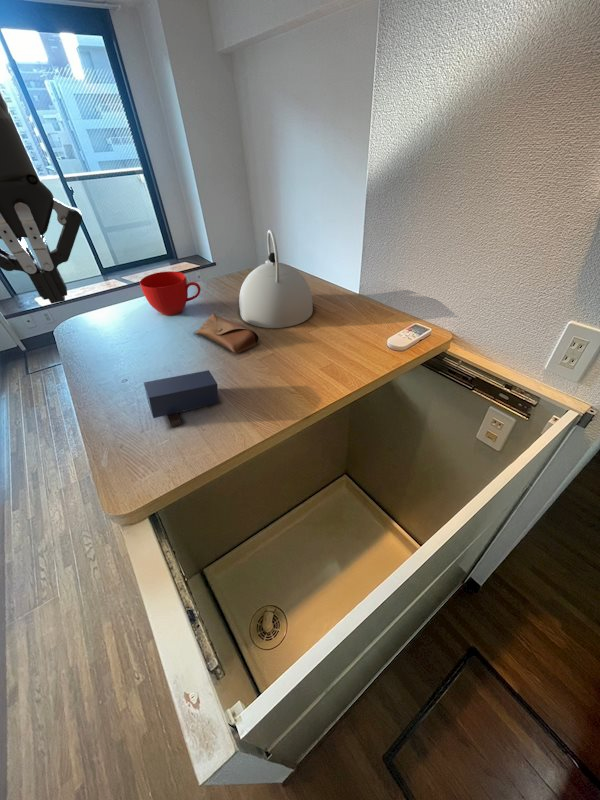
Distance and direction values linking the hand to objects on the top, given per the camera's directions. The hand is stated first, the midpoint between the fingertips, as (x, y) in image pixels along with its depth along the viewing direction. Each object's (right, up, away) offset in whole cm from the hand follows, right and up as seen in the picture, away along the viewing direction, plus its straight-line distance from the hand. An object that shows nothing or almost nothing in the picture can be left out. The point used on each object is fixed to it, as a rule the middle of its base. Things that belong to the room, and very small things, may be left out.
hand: (57, 300), depth 40 cm
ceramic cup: (-8, +16, +62) cm, 65 cm away
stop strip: (+3, -15, +27) cm, 31 cm away
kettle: (+22, +16, +63) cm, 68 cm away
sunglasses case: (+10, +4, +49) cm, 50 cm away
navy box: (0, -12, +23) cm, 26 cm away
